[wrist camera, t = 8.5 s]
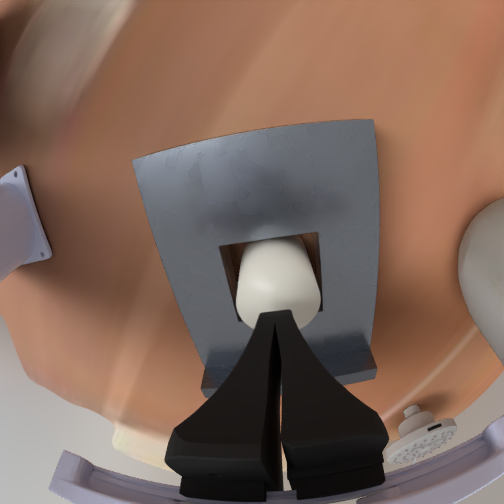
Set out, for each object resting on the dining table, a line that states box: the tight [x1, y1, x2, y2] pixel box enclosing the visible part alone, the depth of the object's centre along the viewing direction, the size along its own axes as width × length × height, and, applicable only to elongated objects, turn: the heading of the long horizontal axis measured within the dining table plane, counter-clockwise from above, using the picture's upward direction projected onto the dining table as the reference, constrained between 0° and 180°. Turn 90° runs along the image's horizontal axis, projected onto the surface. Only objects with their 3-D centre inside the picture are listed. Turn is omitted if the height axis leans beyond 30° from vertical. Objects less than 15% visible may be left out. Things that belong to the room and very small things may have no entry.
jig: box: [132, 119, 380, 398], centre depth 15 cm, size 12×16×4 cm
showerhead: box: [386, 404, 457, 465], centre depth 23 cm, size 9×7×10 cm
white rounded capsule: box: [236, 234, 321, 329], centre depth 15 cm, size 4×4×5 cm
